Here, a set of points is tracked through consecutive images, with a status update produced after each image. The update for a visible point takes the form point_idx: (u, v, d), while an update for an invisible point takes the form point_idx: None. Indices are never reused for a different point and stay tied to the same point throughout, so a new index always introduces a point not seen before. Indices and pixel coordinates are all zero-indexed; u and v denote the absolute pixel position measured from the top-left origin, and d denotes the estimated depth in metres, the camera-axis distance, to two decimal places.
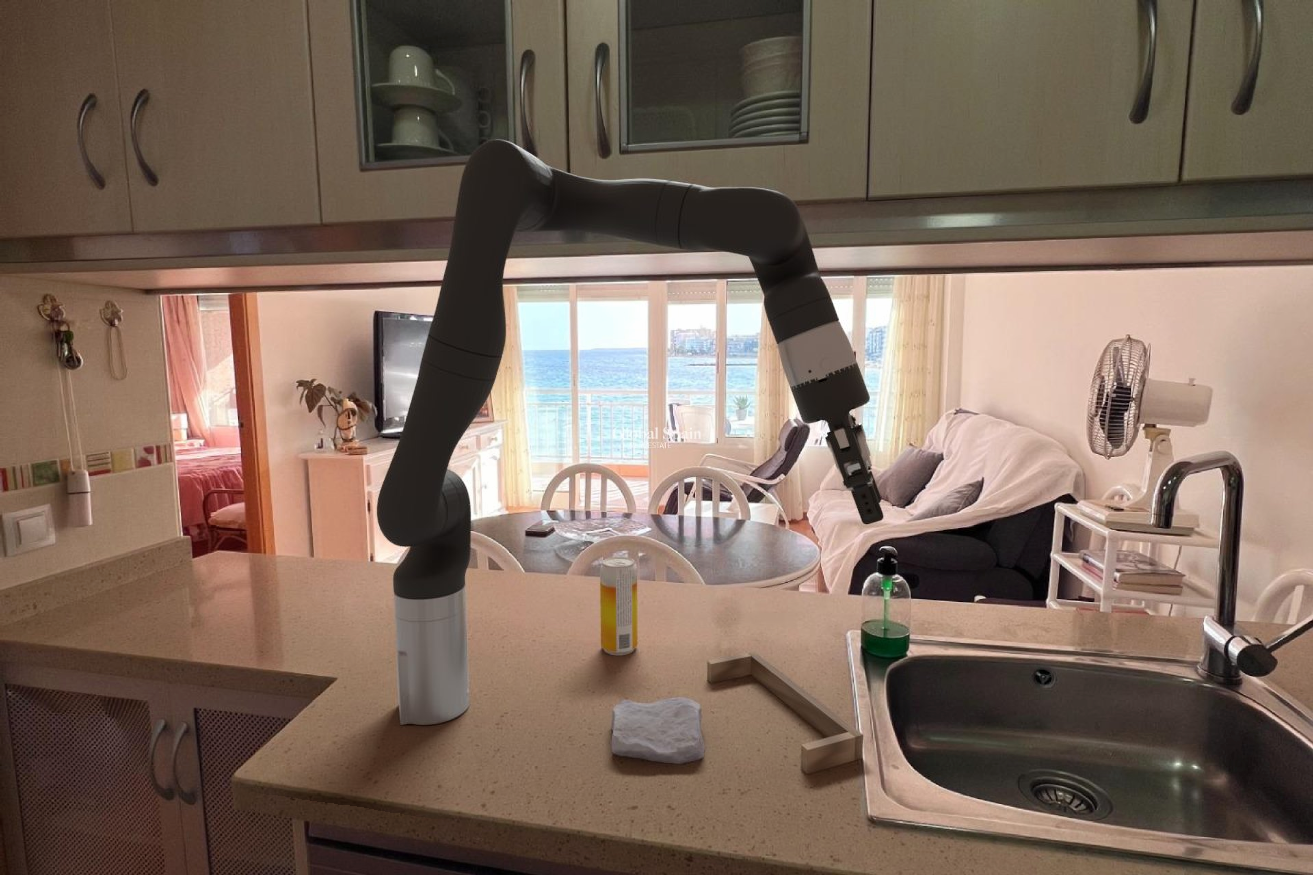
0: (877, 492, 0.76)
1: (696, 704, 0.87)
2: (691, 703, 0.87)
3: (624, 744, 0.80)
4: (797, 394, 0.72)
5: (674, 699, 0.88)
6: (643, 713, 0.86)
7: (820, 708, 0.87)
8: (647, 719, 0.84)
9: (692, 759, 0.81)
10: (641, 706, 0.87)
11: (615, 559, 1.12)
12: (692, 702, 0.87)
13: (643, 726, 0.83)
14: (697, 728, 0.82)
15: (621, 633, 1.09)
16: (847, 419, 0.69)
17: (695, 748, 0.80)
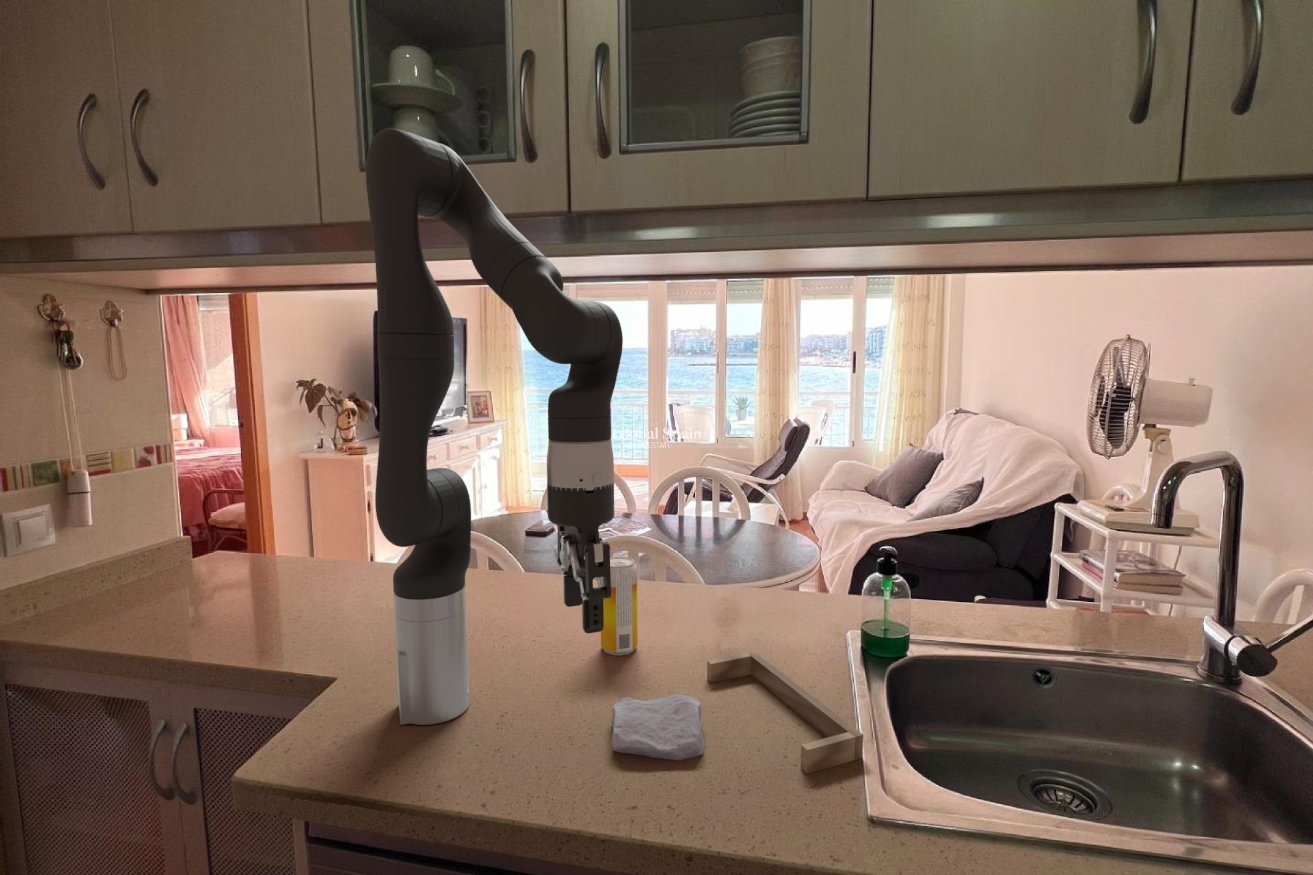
0: None
1: (696, 701, 0.88)
2: (691, 700, 0.88)
3: (625, 741, 0.81)
4: (558, 496, 0.73)
5: (674, 696, 0.89)
6: (643, 710, 0.86)
7: (820, 708, 0.87)
8: (647, 717, 0.85)
9: (692, 755, 0.82)
10: (641, 703, 0.88)
11: (615, 559, 1.12)
12: (692, 699, 0.88)
13: (643, 723, 0.84)
14: (697, 725, 0.83)
15: (621, 633, 1.09)
16: (598, 532, 0.74)
17: (695, 744, 0.81)
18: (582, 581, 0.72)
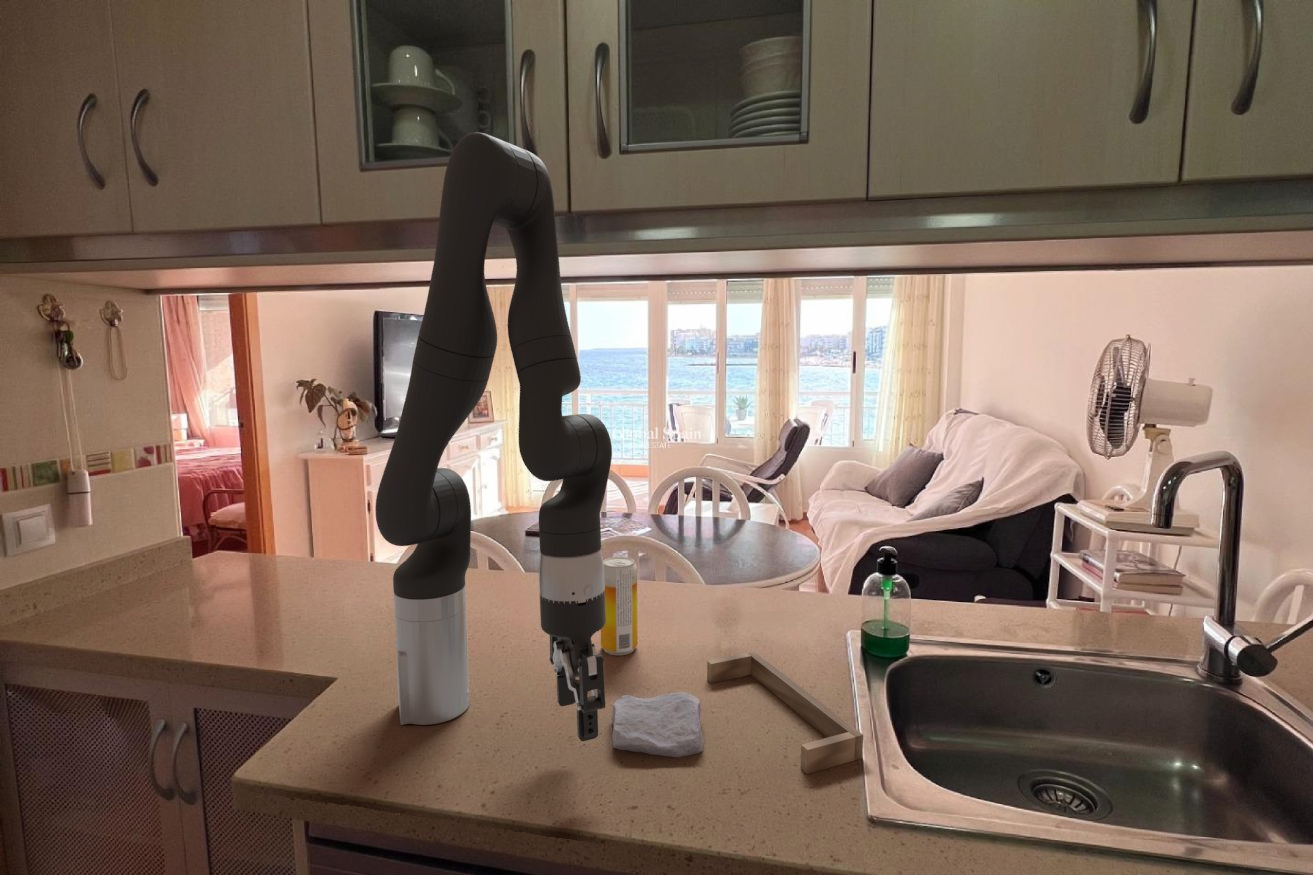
0: None
1: (695, 699, 0.88)
2: (690, 698, 0.88)
3: (625, 738, 0.82)
4: (551, 608, 0.75)
5: (674, 694, 0.90)
6: (643, 708, 0.87)
7: (820, 708, 0.87)
8: (647, 714, 0.85)
9: (692, 753, 0.82)
10: (641, 701, 0.89)
11: (615, 559, 1.12)
12: (691, 697, 0.89)
13: (643, 720, 0.84)
14: (697, 722, 0.84)
15: (621, 633, 1.09)
16: (591, 642, 0.76)
17: (695, 742, 0.82)
18: (576, 691, 0.74)
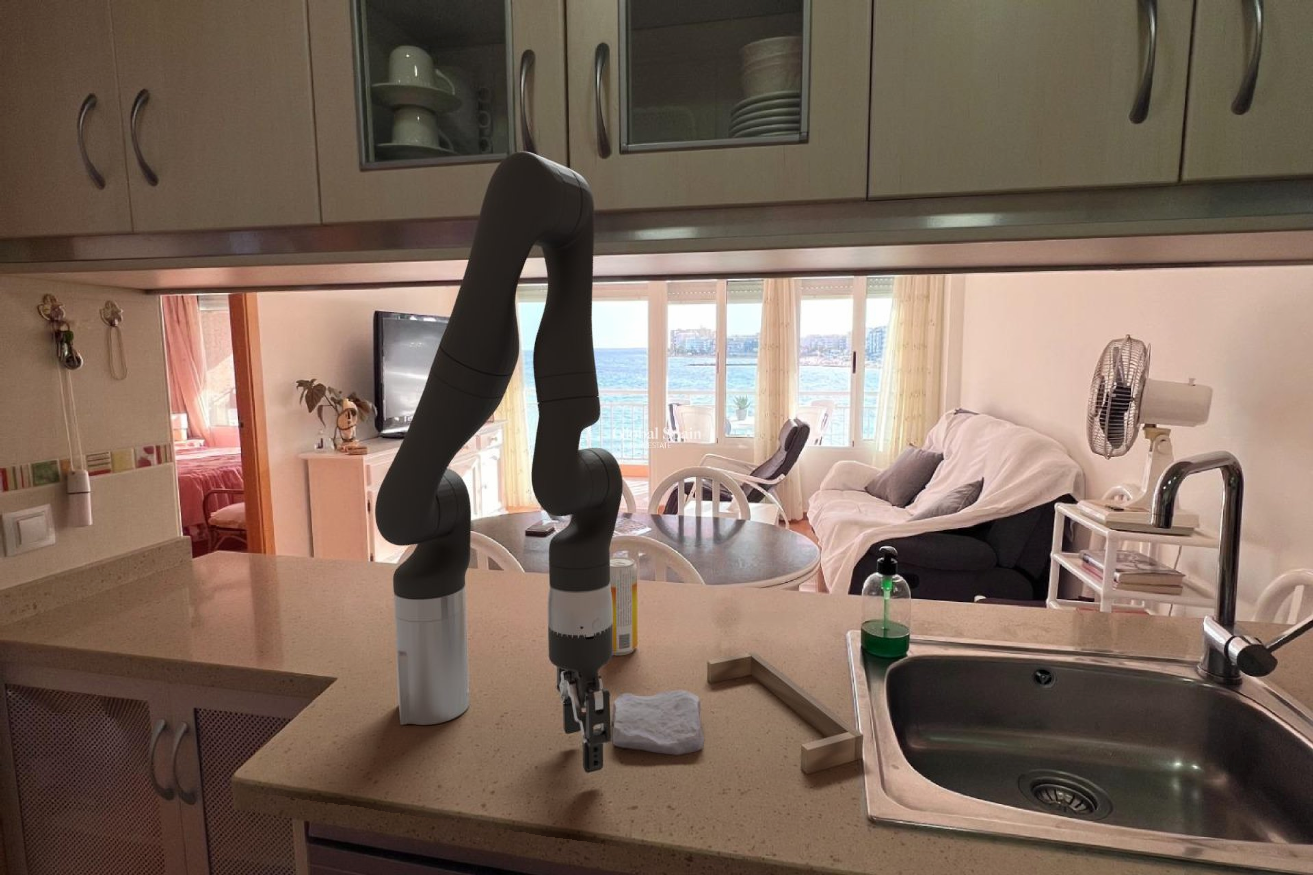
0: None
1: (695, 697, 0.89)
2: (690, 696, 0.89)
3: (625, 736, 0.82)
4: (559, 641, 0.76)
5: (673, 692, 0.90)
6: (643, 706, 0.88)
7: (820, 708, 0.87)
8: (647, 712, 0.86)
9: (692, 750, 0.83)
10: (641, 699, 0.89)
11: (615, 559, 1.12)
12: (691, 695, 0.89)
13: (643, 718, 0.85)
14: (696, 720, 0.84)
15: (621, 633, 1.09)
16: (598, 675, 0.76)
17: (695, 739, 0.82)
18: (582, 724, 0.75)
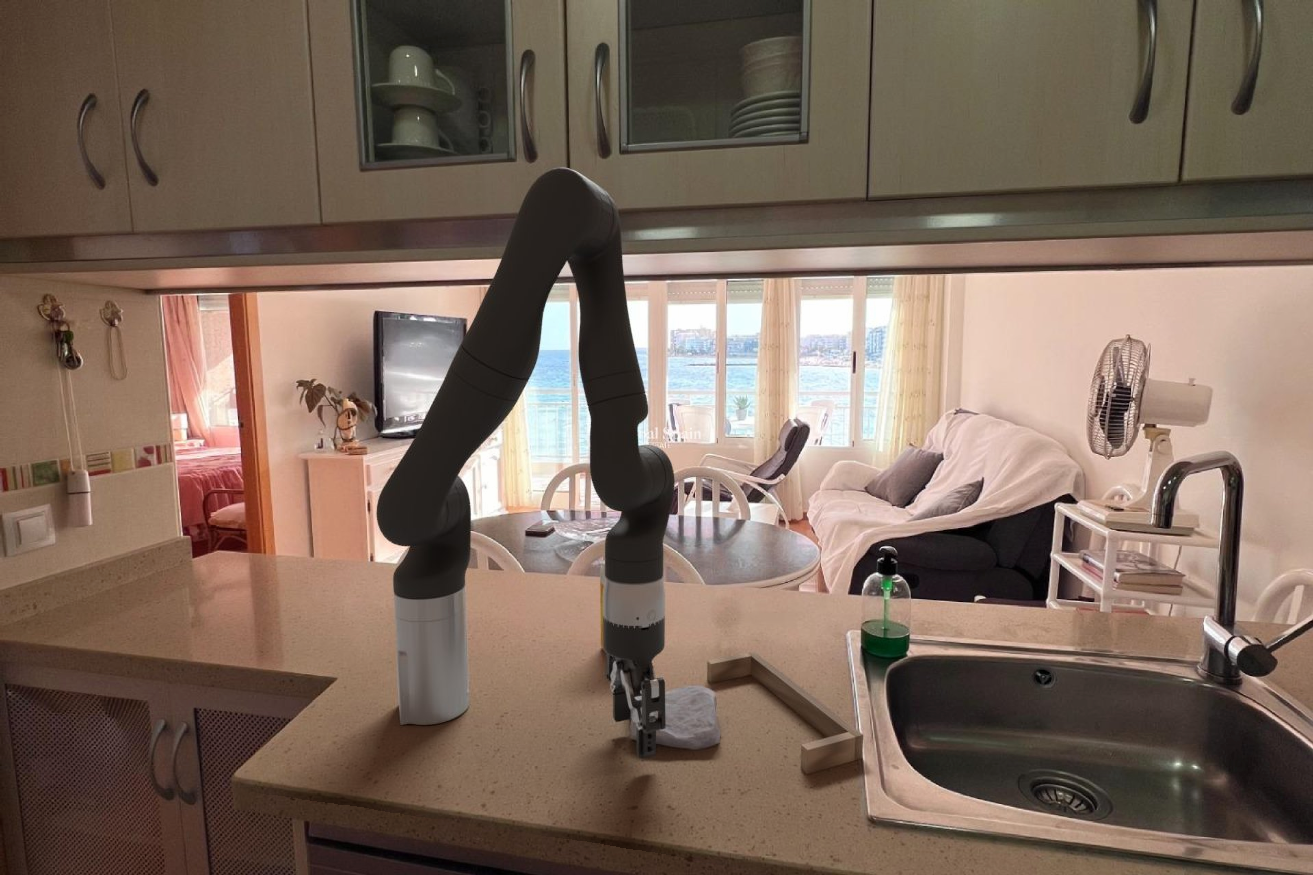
0: (629, 710, 0.87)
1: (711, 692, 0.90)
2: (707, 691, 0.90)
3: None
4: (615, 631, 0.78)
5: (690, 687, 0.91)
6: None
7: (820, 708, 0.87)
8: None
9: (708, 744, 0.84)
10: None
11: None
12: (707, 690, 0.90)
13: None
14: (713, 714, 0.85)
15: None
16: None
17: (712, 733, 0.83)
18: (637, 711, 0.78)
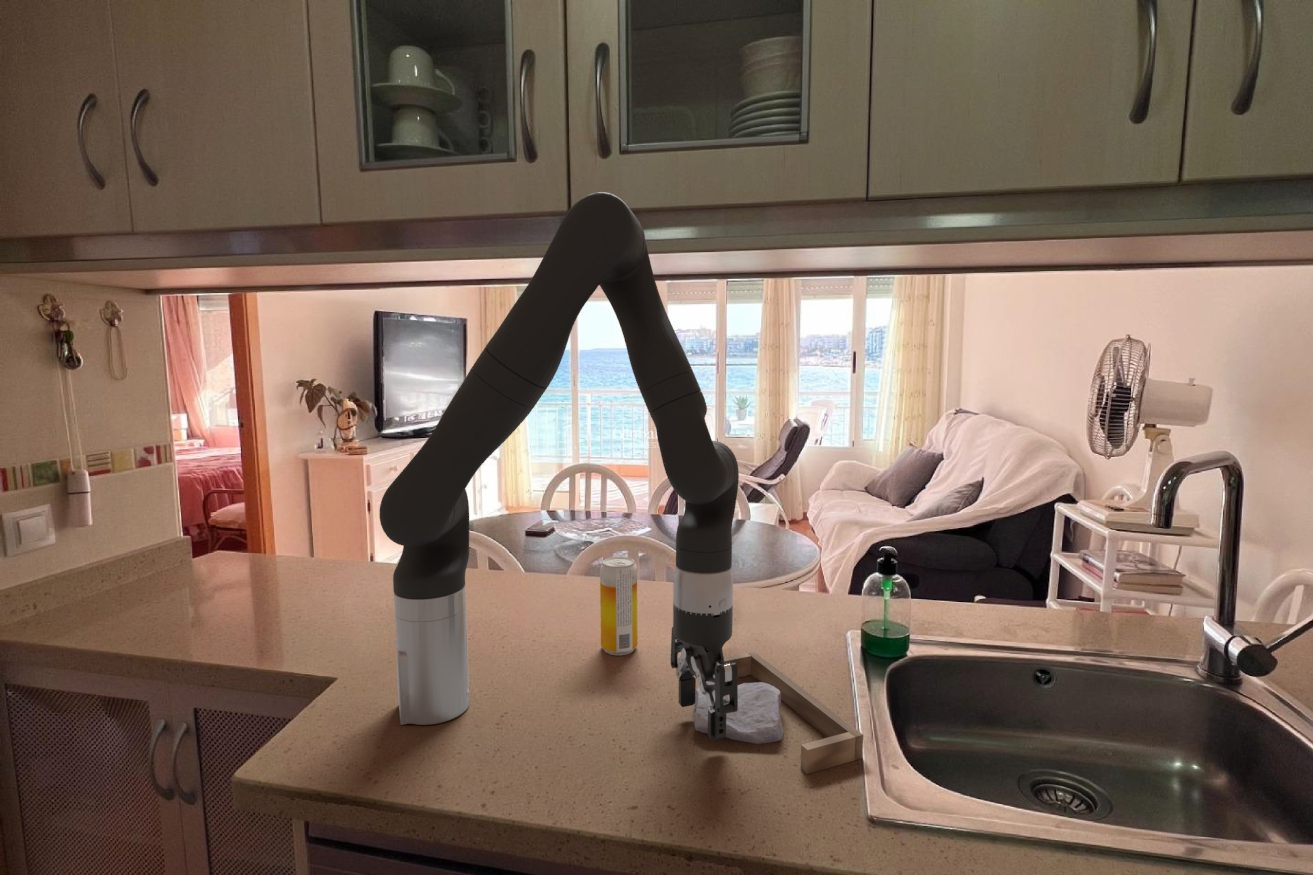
0: (694, 696, 0.91)
1: (776, 689, 0.91)
2: (771, 688, 0.91)
3: (706, 721, 0.85)
4: (688, 619, 0.82)
5: (755, 684, 0.92)
6: None
7: (820, 708, 0.87)
8: None
9: (771, 740, 0.85)
10: None
11: (615, 559, 1.12)
12: (772, 687, 0.91)
13: None
14: (776, 711, 0.86)
15: (621, 633, 1.09)
16: (722, 650, 0.83)
17: (774, 730, 0.84)
18: (709, 695, 0.82)
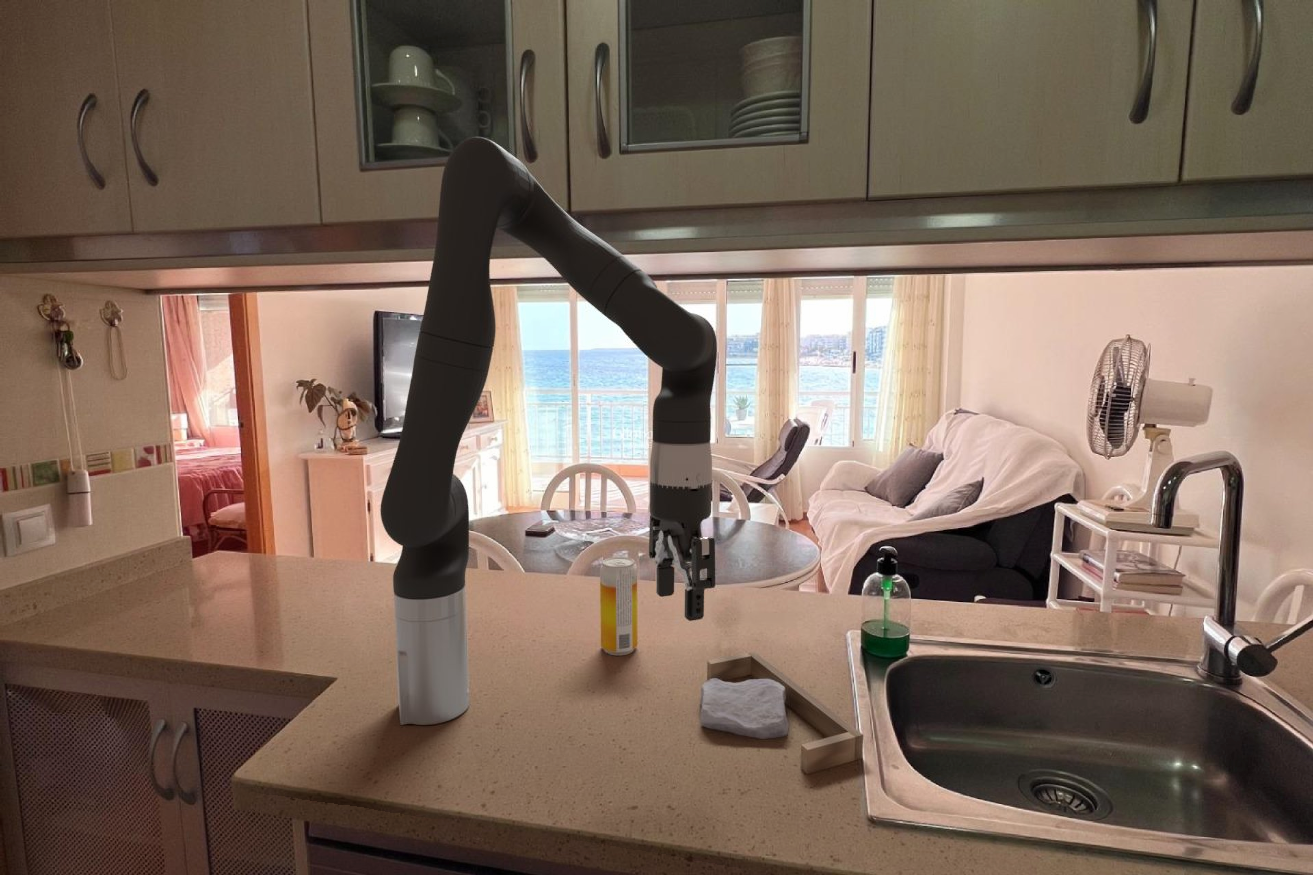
0: (673, 586, 0.87)
1: (781, 686, 0.92)
2: (776, 684, 0.92)
3: (713, 717, 0.86)
4: (664, 493, 0.79)
5: (760, 680, 0.93)
6: (730, 691, 0.91)
7: (820, 708, 0.87)
8: (734, 697, 0.90)
9: (776, 735, 0.86)
10: (728, 684, 0.93)
11: (615, 559, 1.12)
12: (777, 684, 0.92)
13: (730, 702, 0.89)
14: (781, 707, 0.87)
15: (621, 633, 1.09)
16: None
17: (780, 725, 0.85)
18: (686, 572, 0.78)
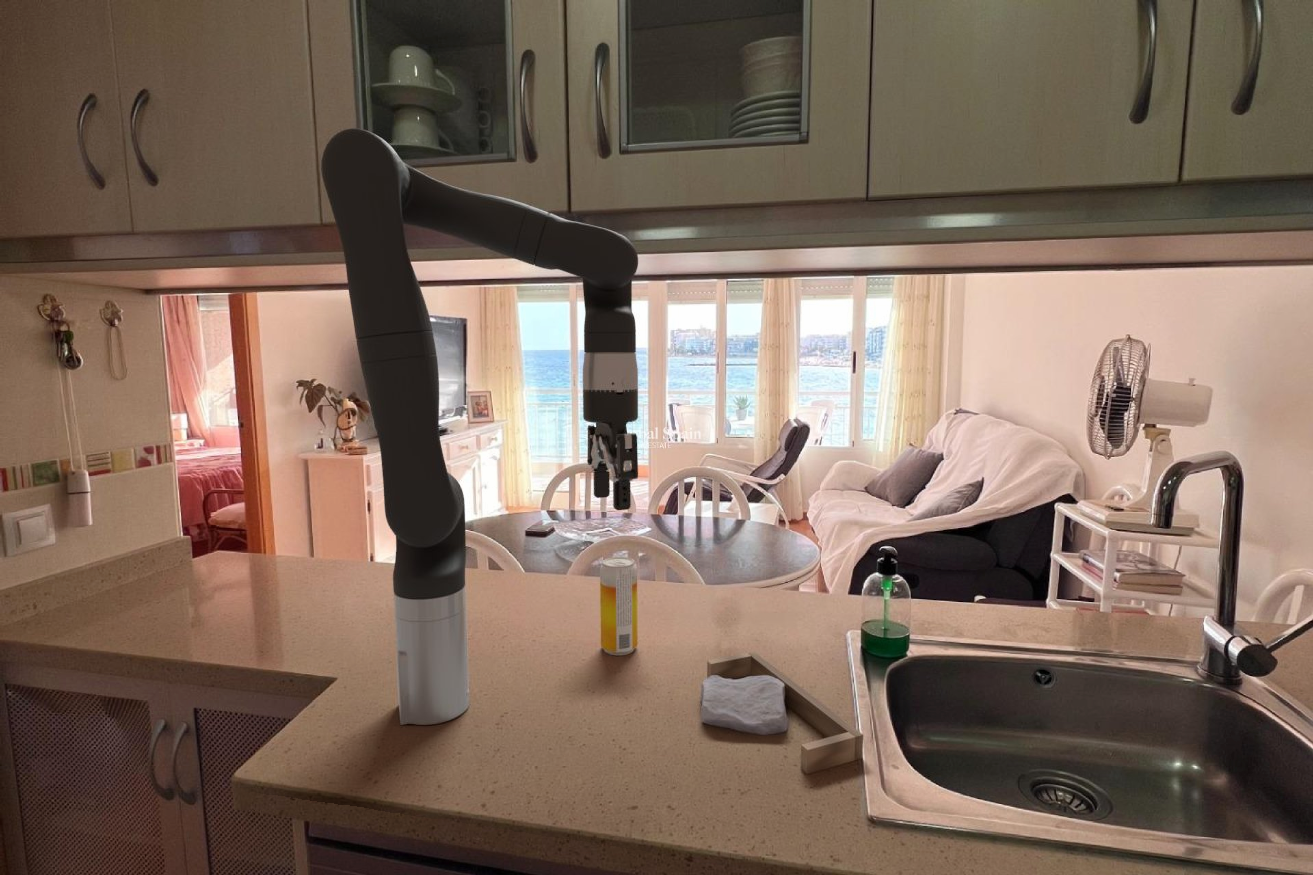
0: (608, 488, 0.97)
1: (780, 682, 0.93)
2: (775, 681, 0.93)
3: (713, 714, 0.87)
4: (593, 397, 0.89)
5: (759, 677, 0.94)
6: (730, 688, 0.92)
7: (820, 708, 0.87)
8: (734, 693, 0.91)
9: (776, 731, 0.87)
10: (728, 681, 0.94)
11: (615, 559, 1.12)
12: (776, 680, 0.93)
13: (730, 698, 0.90)
14: (781, 703, 0.88)
15: (621, 633, 1.09)
16: (626, 428, 0.90)
17: (780, 721, 0.86)
18: (613, 467, 0.88)
